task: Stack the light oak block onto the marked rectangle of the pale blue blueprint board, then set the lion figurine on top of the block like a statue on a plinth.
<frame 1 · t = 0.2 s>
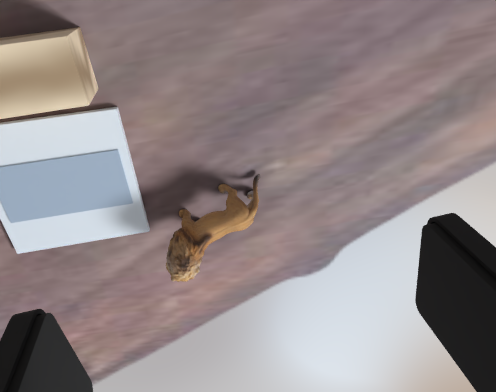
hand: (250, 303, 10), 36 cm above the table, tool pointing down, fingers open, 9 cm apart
oak block: (23, 68, 39), on the table
blueprint board: (65, 183, 46), on the table
lion figurine: (211, 209, 51), on the table
when the fingers open (3 cm above the table, at t = 8.9 s): oak block drops 1 cm, resting on blueprint board.
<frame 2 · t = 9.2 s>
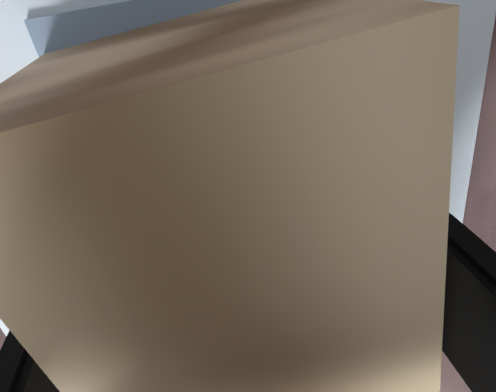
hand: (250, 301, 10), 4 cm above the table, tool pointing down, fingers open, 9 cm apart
oak block: (238, 238, 12), point 1 cm above the table, touching blueprint board
blueprint board: (230, 221, 13), on the table
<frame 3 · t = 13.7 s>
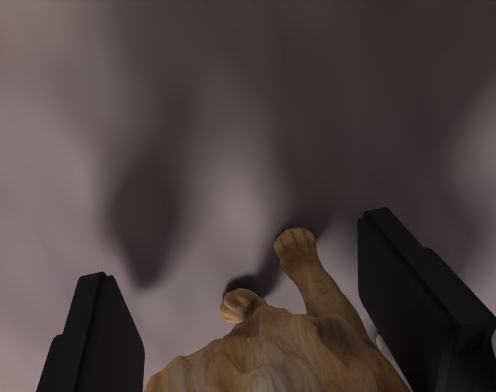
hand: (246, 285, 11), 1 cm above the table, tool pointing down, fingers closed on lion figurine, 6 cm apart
lion figurine: (300, 320, 14), on the table, touching gripper
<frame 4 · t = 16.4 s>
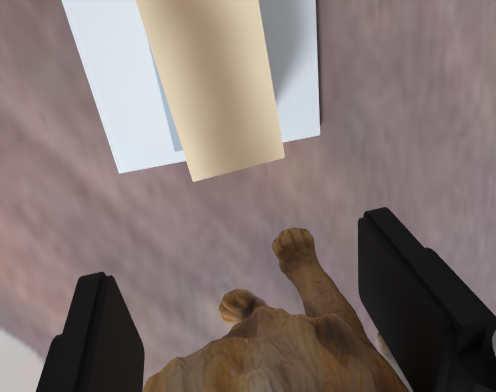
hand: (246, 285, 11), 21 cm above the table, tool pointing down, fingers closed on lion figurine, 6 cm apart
oak block: (205, 47, 27), point 1 cm above the table, touching blueprint board
blueprint board: (202, 45, 28), on the table
lion figurine: (299, 320, 14), point 20 cm above the table, touching gripper
when the fingers open (9 cm above the table, at t = 19.4 s): lion figurine drops 1 cm, resting on oak block.
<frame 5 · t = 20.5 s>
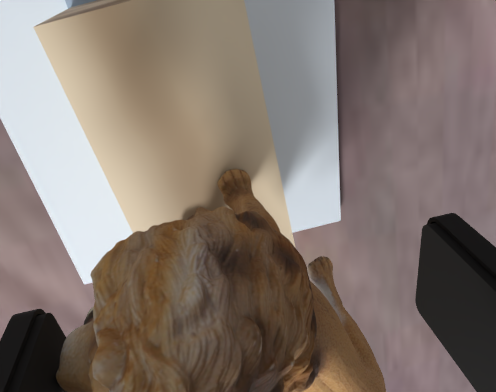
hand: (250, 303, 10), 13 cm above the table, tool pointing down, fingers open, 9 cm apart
oak block: (189, 130, 20), point 1 cm above the table, touching blueprint board, lion figurine
blueprint board: (185, 124, 21), on the table
lion figurine: (243, 252, 17), point 7 cm above the table, touching gripper, oak block
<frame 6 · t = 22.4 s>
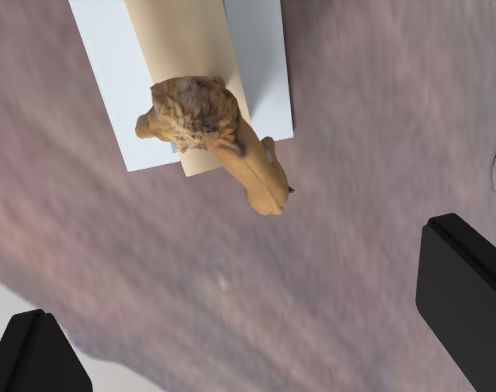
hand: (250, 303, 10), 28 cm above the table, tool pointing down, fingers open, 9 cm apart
oak block: (194, 69, 33), point 1 cm above the table, touching blueprint board, lion figurine
blueprint board: (193, 67, 34), on the table
lion figurine: (223, 130, 30), point 7 cm above the table, touching oak block
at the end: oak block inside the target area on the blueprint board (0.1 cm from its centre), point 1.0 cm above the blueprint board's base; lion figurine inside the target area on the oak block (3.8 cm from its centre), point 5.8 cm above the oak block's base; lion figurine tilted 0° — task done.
